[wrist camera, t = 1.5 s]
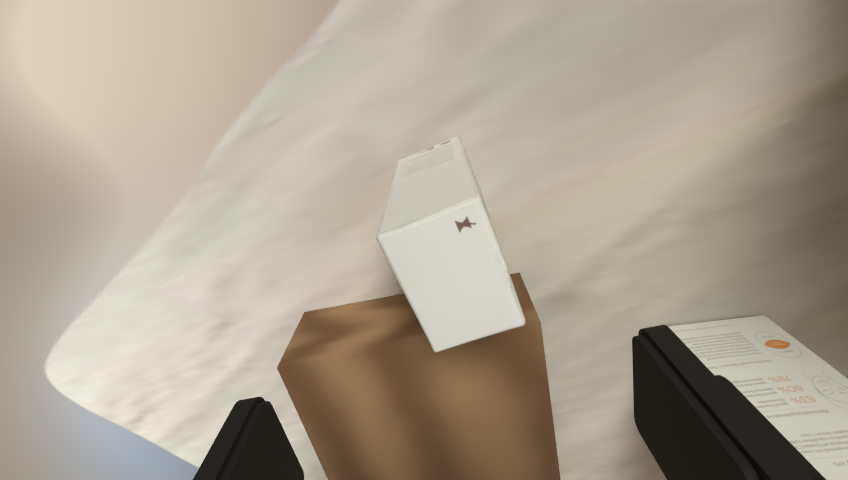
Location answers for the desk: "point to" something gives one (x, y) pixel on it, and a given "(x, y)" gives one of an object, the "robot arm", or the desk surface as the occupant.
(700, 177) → the desk surface
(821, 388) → the small box
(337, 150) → the desk surface
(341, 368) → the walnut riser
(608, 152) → the desk surface
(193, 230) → the desk surface
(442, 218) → the skincare box
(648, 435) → the robot arm
